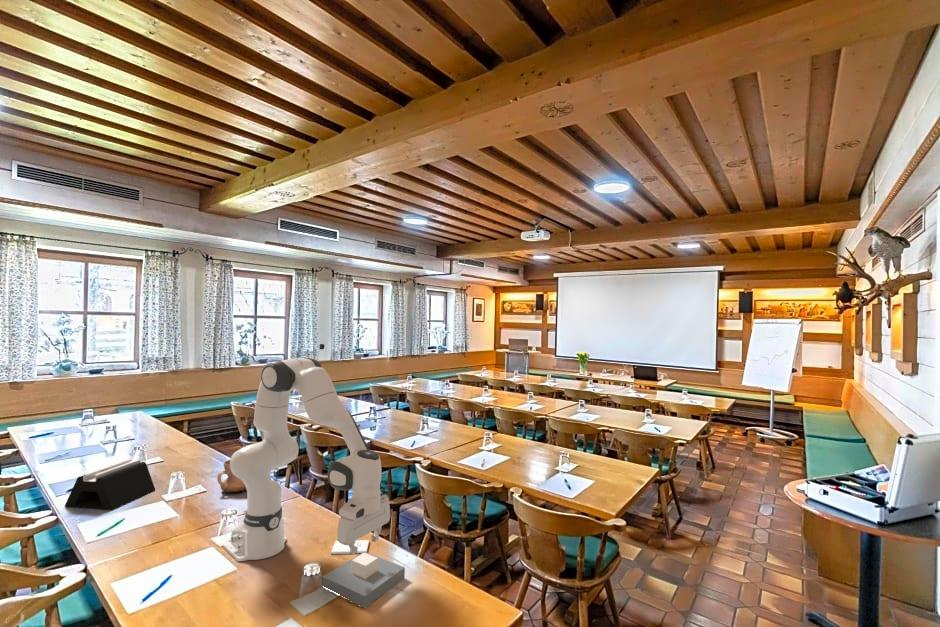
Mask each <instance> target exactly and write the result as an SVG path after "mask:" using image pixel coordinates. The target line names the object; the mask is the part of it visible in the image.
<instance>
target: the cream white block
mask: <svg viewBox="0 0 940 627" xmlns="http://www.w3.org/2000/svg"><path fill="white" fill-rule="evenodd" d="M369 554H370V553H369ZM369 554H366V553H363V554H361V555H359V554H358V555H359V556H358V555H357V556H358V557H356V556H355V557H356V558H354V557H353V558H354V559H353V558H352V559H353V560H352V566H351V573H352V574H355V575H357V576H359V577H362V578H364V579H366V578H368V577H369V576H370V575H372V574H373V573H375V572H376V571H378V558H377V557H378V556H377V557H374V556H372V555H373V554H372V555H369Z"/></svg>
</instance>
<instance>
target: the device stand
mask: <svg viewBox="0 0 940 627" xmlns="http://www.w3.org/2000/svg"><path fill="white" fill-rule="evenodd" d="M155 491H156V488H155V485H154V482H153V479H152V475H151V474H150V471H149V467H148V465H147V462H146V461H142V460H141V458H138V459H136V460H132V458H128V459H125V460H122V461H119V462H117V463H114V464H110V465H108V466H105V467H102V468H99V469H96V470H92V471H90V472H87V473H84V474H83V475H81V476H80V475H79V476H78V477H77V478H76V480H75V483H74V485H73V486H72V489H71V491H70V494H69V496H68V498H67V500H66V502H65V505H64V508H68V509H82V510H85V509H86V510H95V511H96V510H97V511H98V510H99V511H100V510H101V511H111V510H112V511H113V510H116V509H118V508H120V507H123V506H125V505H126V504H129V503H132V502H134V501H135V499H136V500H137V499H140V498H142V497H144V496H147V495H149V494H151V493H153V492H155ZM148 493H149V494H148ZM122 505H123V506H122Z"/></svg>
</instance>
